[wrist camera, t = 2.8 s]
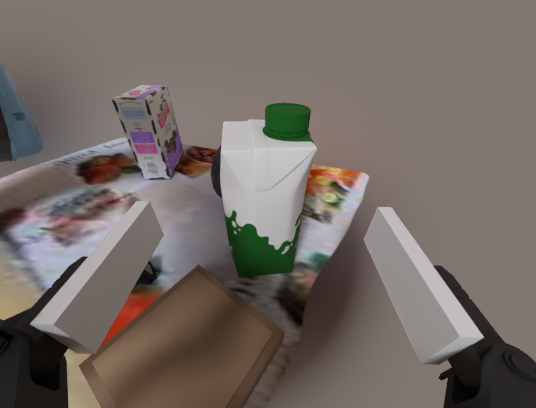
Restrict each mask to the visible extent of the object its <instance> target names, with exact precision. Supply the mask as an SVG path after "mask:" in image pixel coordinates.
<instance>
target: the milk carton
mask: <svg viewBox="0 0 536 408" xmlns="http://www.w3.org/2000/svg"><path fill="white" fill-rule="evenodd" d="M310 112H311V110H310V108H308V107H306V106H304V105H299V104H293V103H276V104H271V105H268V106H267V107H266V109H265V120H254V119H252V120H247V121H239V122H238V121H236V122H224V124H223V133H222V144H221V164H220V184H221V192H222V199H223V206H224V213H225V220H226V227H227V234H228V240H229V245H230V248H231V252H232V255H233V258H234V262H235V265H236V268H237V271H238V275H239V278H240V277H249V276H258V275H267V274H276V273H285V272H292V267H293V261H294V256H295V250H296V245H297V239H298V233H299V227H300V221H301V215H302V209H303V203H304V197H305V191H306V185H307V180H308V176H309V173H310V169H311V166H312V163H313V160H314V157H315V154H316V151H317V148H316V146H315V145H314V144H313V143H314V142H313V140H312V139H311V138H310V133H309V131H308V127H309V120H310Z"/></svg>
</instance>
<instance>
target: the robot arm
mask: <svg viewBox="0 0 536 408" xmlns="http://www.w3.org/2000/svg"><path fill="white" fill-rule="evenodd" d="M43 146H44V145H43V140H42V138H41V135H40V133H39V130H38V128H37V126H36V124H35V122H34V120H33V118H32V115H31V114H30V111H29V110H28V107H27V105H26V104H25V102H24V100H23V98H22V96H21V94H20V92H19V90H18V89H17V87H16V85H15V83H14V81H13V79H12V78H11V76H10V74H9V73H8V71H7V69H6V68H5V67H4V65H3V64H2V63H1V62H0V162H5V161H16V160H17V159H19V158H23V157H27V156H31V155H35V154H38V153H40V152H41V151H42V149H43ZM163 235H164V234H163V232H162V229H161V227H160V225H159V222H158V220H157V218H156V215H155V213H154V210H153V208H152V206H151V203H150V201H136V202H135V203H134V204H133V206H132V207H131V208H130V209H129V210H128V211H127V213H126V214H125V215H124V216H123V217H122V218H121V219H120V221H119V222H118V223H117V224H116V225H115V226H114V228H113V229H112V230H111V231H110V232H109V233H108V234H107V236H106V237H105V238H104V239H103V240H102V241H101V243H100V244H99V245H98V246H97V247H96V248H95V249H94V251H93V252H92V253H91V254H90V255H89V256H88V257H81V258H80V259H79V260H77V261H76V262H74V263H73V264H72V265H70V266H69V267H68V268H67V269H66V271H65V272H64V273H63V274H62V275H61V276H60V278H59V279H57V280H56V281H55V283H54V284H53V285H52V287H51V288H49V289H48V290H47V291H46V292H45V293H44V295H43V296H42V297H41V298H40V299H39V300H38V301H37V302H36V303H35V304H34V306H33V307H32V308H31V309H30V310H29V311H28V312H27V313H26V314H25V315H24V316H23V318H22V319H21V320H20V321H19V322H18V323H17V324H16V325H15V326H14V327H13V326H12V325H10V324H8V323H6V322H5V321H3V320H1V319H0V408H68V387H67V363H66V358H65V356H64V354H65V352H66V351H67V349H68V348H69V349H71V350H72V351H74V352H75V353H81V354H96V352H97V350H98V349H99V347H100V345H101V343H102V342H103V340H104V338H105V336H106V335H107V333H108V331H109V329H110V328H111V326H112V324H113V322H114V321H115V319H116V317H117V315H118V314H119V312H120V310H121V308H122V307H123V305H124V303H125V301H126V300H127V298H128V296H129V294H130V293H131V291H132V289H133V287H134V286H135V284H136V282H137V280H138V279H139V277H140V275H141V273H142V272H143V270H144V268H145V266H146V265H147V263H148V261H149V260H150V258H151V256H152V254H153V253H154V251H155V249H156V247H157V246H158V244H159V242H160V240H161V239H162V237H163ZM364 242H365V244H366V247H367V249H368V251H369V253H370V255H371V257H372V260H373V262H374V264H375V266H376V268H377V270H378V273H379V275H380V277H381V279H382V281H383V283H384V286H385V288H386V290H387V293H388V295H389V297H390V299H391V301H392V304H393V305H394V308H395V310H396V312H397V314H398V317H399V319H400V321H401V323H402V325H403V328H404V330H405V332H406V334H407V336H408V339H409V341H410V343H411V345H412V347H413V350H414V352H415V354H416V356H417V358H418V360H419V363H420V364H438V365H439V364H441V363H442V362H444V361H446V360H448V361H449V363H450V364H451V366H452V368H450V369H448V370H446V371H445V372H443V373H441V374H440V376H439V379H440V380H443V379H446V378H447V377H448V382H447V388H446V395H445V402H444V408H536V362H535V361H533V359H531V358H530V357H529V356H528V355H527V354H526V353H524V352H523V351H521V350H520V349H518V348H516V347H514V346H512V345H510V344H506V343H505V342H504V341H503V340H502V338H501V337H500V336H499V335H498V334H497V332H496V331H495V330H494V328H493V327H492V326H491V325H490V323H489V322H488V321H487V319H486V318H485V317H484V315H483V314H482V313H481V312H480V310H479V309H478V308H477V306H476V305H475V304H474V303H473V301H472V300H471V299H469V296H468V295H467V293H466V292H465V291H464V290H463V289H462V288H461V286H460V284H459V283H458V282H457V281H456V279H455V278H454V277H453V275H451V274H450V273H449V272H448V271H447V270H445V269H444V268H443V267H442V266H433V265H432V264H431V262H430V261H429V260H428V258H427V257H426V255H425V254H424V253H423V251H422V250H421V248H420V247H419V246H418V244H417V243H416V241H415V240H414V239H413V237H412V236H411V235H410V233H409V232H408V230H407V229H406V227H405V226H404V225H403V223H402V222H401V220H400V219H399V218H398V216H397V215H396V213H395V212H394V211H393V209H392V208H391V207H378V208H377V210H376V213H375V215H374V217H373V219H372V222H371V224H370V226H369V229H368V231H367V233H366V235H365V238H364Z"/></svg>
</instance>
